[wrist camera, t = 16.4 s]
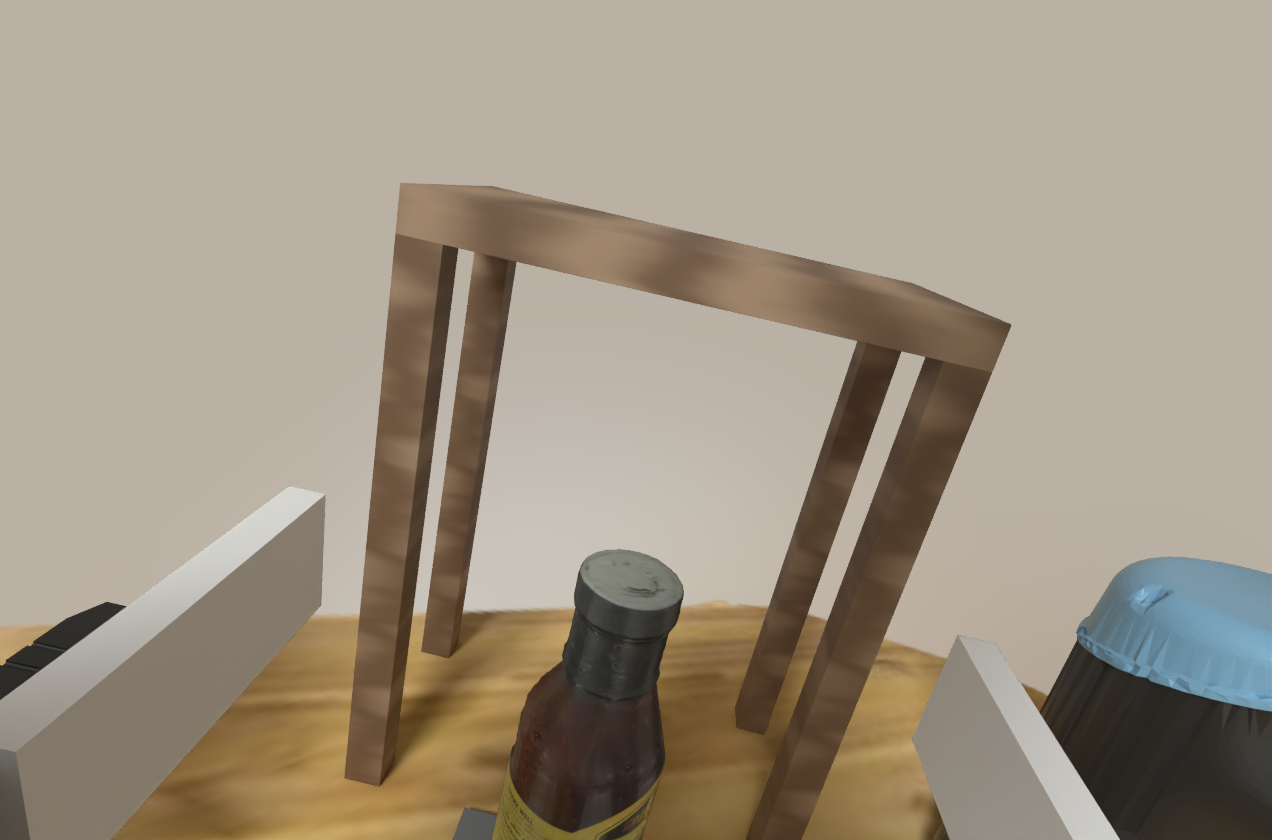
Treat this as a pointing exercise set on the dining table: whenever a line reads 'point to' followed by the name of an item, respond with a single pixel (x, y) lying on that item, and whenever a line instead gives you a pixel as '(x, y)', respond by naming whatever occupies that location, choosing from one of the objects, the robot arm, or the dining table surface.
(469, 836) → the charcoal mat
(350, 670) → the dining table surface
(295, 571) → the robot arm
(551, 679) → the sauce bottle
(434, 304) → the walnut table
